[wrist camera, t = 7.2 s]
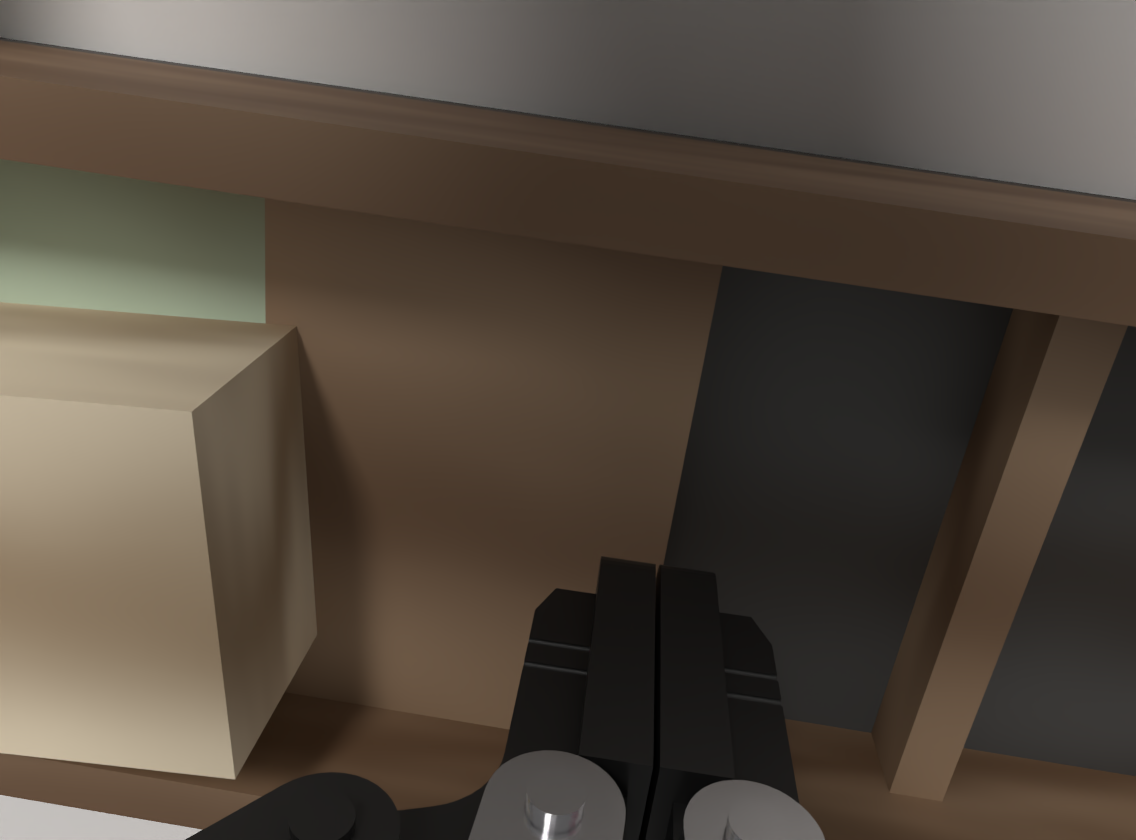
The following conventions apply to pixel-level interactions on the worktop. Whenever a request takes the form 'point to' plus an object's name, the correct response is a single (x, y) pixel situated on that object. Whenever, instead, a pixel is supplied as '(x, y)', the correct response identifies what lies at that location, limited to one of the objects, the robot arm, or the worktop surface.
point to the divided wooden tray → (633, 425)
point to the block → (149, 536)
